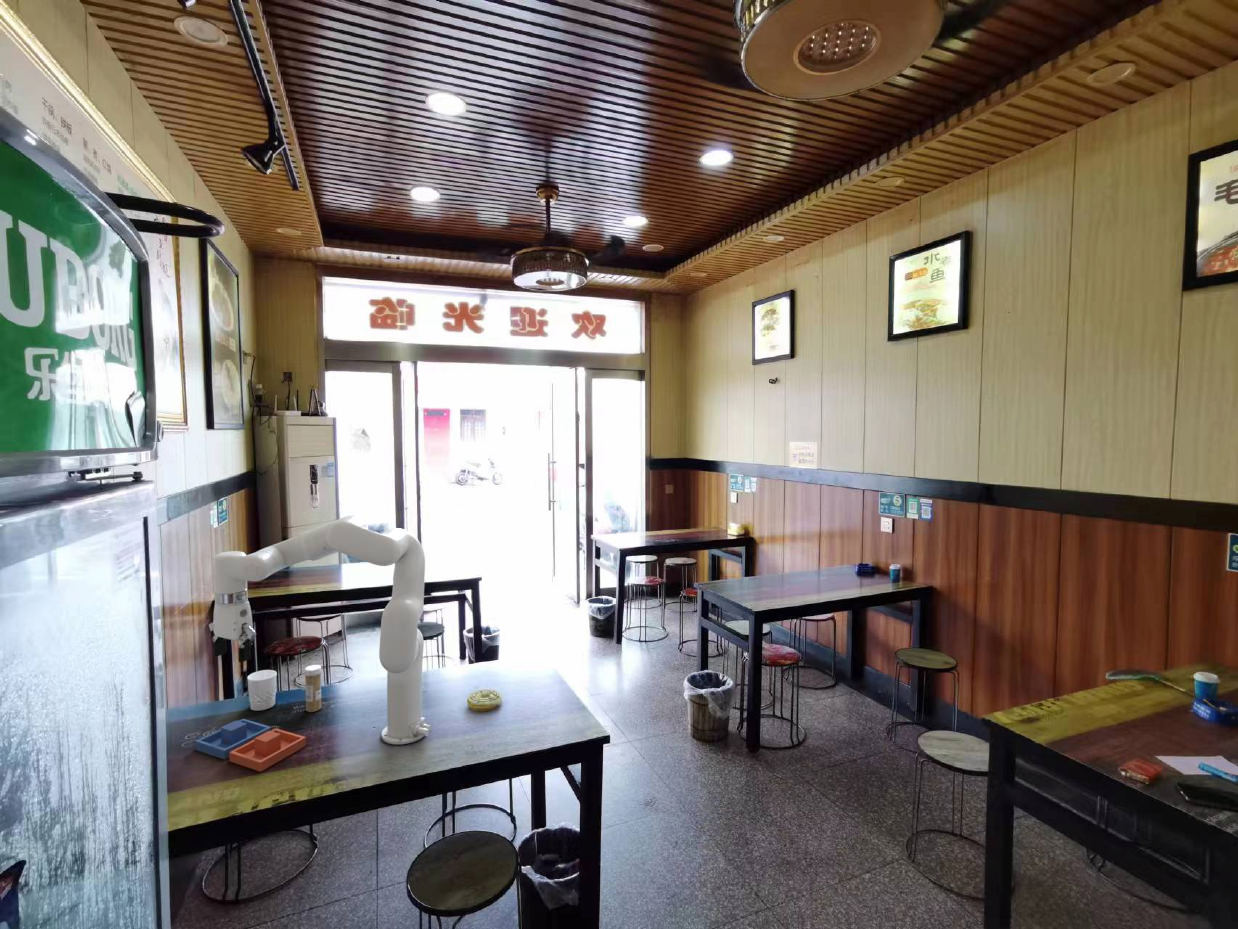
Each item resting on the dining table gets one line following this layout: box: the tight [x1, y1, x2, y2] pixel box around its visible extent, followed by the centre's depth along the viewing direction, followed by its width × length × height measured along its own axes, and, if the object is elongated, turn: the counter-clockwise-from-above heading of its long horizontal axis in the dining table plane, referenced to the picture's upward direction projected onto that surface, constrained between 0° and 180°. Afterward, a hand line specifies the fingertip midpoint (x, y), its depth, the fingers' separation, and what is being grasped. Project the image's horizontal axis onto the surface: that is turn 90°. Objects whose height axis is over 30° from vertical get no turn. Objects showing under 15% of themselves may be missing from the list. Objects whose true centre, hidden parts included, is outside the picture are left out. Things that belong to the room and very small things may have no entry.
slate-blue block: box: [220, 720, 247, 746], centre depth 166 cm, size 4×4×4 cm
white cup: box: [246, 669, 278, 712], centre depth 187 cm, size 8×8×10 cm
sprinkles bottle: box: [304, 664, 323, 713], centre depth 186 cm, size 5×5×13 cm
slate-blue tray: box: [194, 718, 272, 760], centre depth 166 cm, size 12×14×2 cm
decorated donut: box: [466, 689, 503, 712], centre depth 191 cm, size 10×11×4 cm
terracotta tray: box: [228, 728, 307, 773], centre depth 161 cm, size 12×14×2 cm
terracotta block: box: [254, 730, 281, 757], centre depth 161 cm, size 4×4×4 cm
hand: (232, 657), depth 164 cm, fingers open, 9 cm apart
